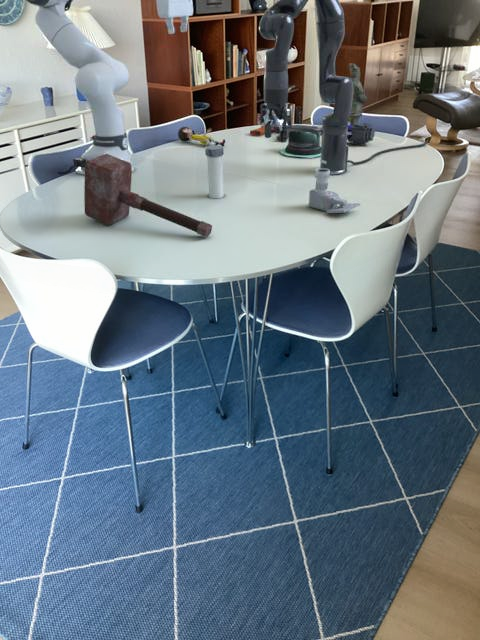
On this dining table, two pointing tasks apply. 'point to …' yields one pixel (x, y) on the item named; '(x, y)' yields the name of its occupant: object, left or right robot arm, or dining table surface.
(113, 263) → the dining table surface
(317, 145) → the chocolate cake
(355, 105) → the statue
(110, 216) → the sledgehammer
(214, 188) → the jar
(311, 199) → the grey foot-shaped piece
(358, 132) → the toy
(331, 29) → the right robot arm
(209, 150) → the lid
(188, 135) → the figurine
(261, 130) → the submachine gun
